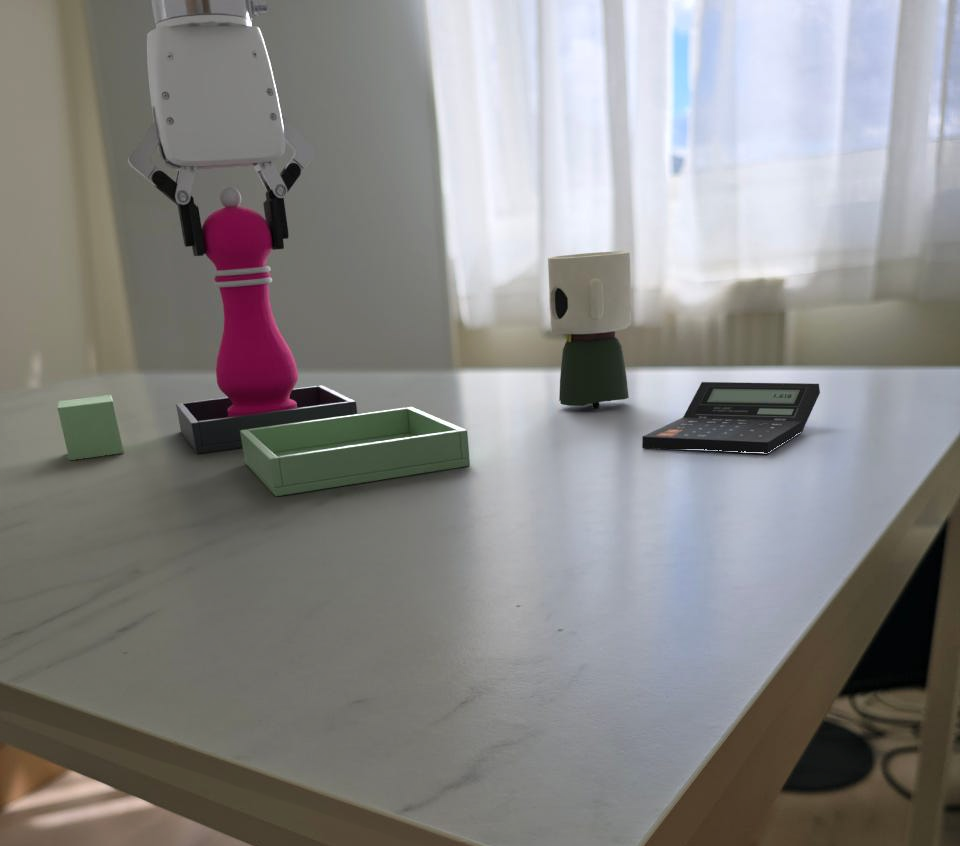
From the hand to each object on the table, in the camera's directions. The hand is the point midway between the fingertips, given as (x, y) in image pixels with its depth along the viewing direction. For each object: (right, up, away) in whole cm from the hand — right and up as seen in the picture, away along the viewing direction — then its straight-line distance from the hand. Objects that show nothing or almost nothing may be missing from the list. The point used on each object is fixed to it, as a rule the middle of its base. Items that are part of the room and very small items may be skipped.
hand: (238, 250), depth 88 cm
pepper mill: (+1, -14, +6) cm, 15 cm away
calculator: (+40, -18, -11) cm, 45 cm away
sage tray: (+11, -20, -11) cm, 26 cm away
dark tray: (+1, -14, +6) cm, 16 cm away
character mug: (+31, -13, +5) cm, 34 cm away
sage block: (-13, -17, +2) cm, 22 cm away
